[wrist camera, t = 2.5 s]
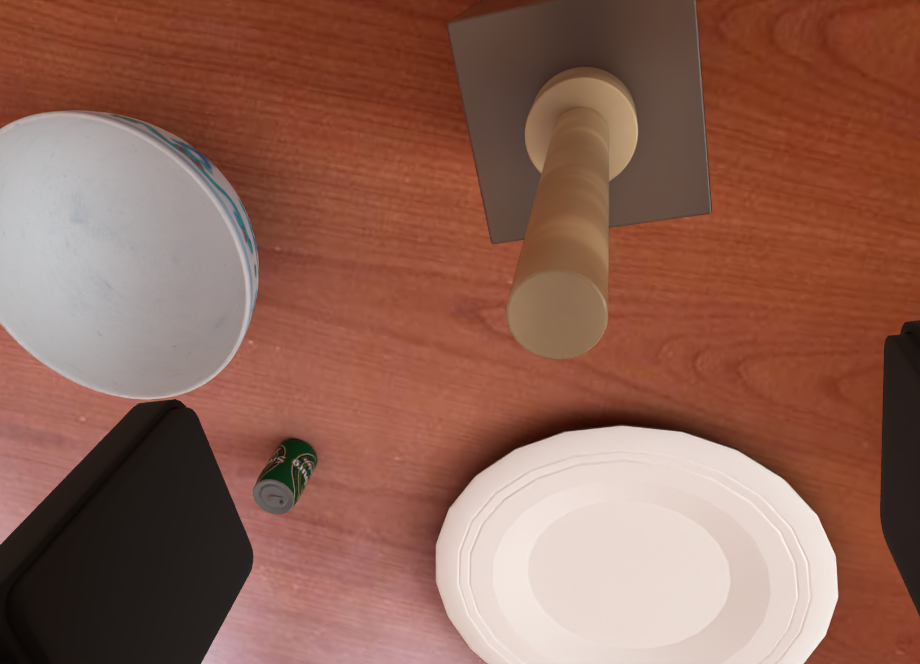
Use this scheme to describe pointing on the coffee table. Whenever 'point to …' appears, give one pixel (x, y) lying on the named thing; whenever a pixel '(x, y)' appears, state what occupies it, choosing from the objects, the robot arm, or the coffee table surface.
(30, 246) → the chinaware
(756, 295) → the coffee table surface
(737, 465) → the plate
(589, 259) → the stick
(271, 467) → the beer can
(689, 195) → the stand
